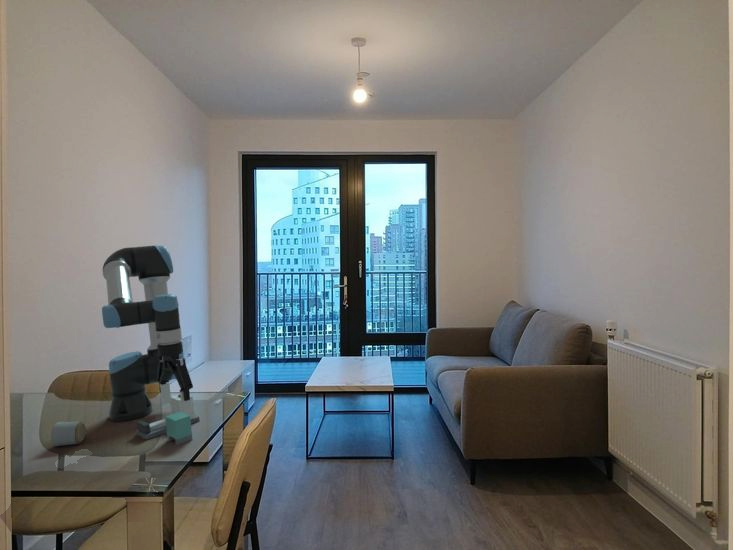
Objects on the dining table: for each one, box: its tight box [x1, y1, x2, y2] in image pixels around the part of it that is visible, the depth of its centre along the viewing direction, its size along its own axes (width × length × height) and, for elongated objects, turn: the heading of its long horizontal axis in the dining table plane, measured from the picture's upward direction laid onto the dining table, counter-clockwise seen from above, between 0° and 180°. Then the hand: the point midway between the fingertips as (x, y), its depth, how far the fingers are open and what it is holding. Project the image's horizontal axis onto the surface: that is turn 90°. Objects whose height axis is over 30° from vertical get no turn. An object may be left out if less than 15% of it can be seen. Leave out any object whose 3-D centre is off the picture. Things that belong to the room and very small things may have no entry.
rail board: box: [135, 393, 200, 440], centre depth 172 cm, size 19×8×10 cm, turn 138°
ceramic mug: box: [50, 421, 87, 447], centre depth 165 cm, size 11×8×8 cm
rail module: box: [164, 412, 193, 446], centre depth 161 cm, size 5×7×8 cm
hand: (176, 406), depth 160 cm, fingers open, 13 cm apart
